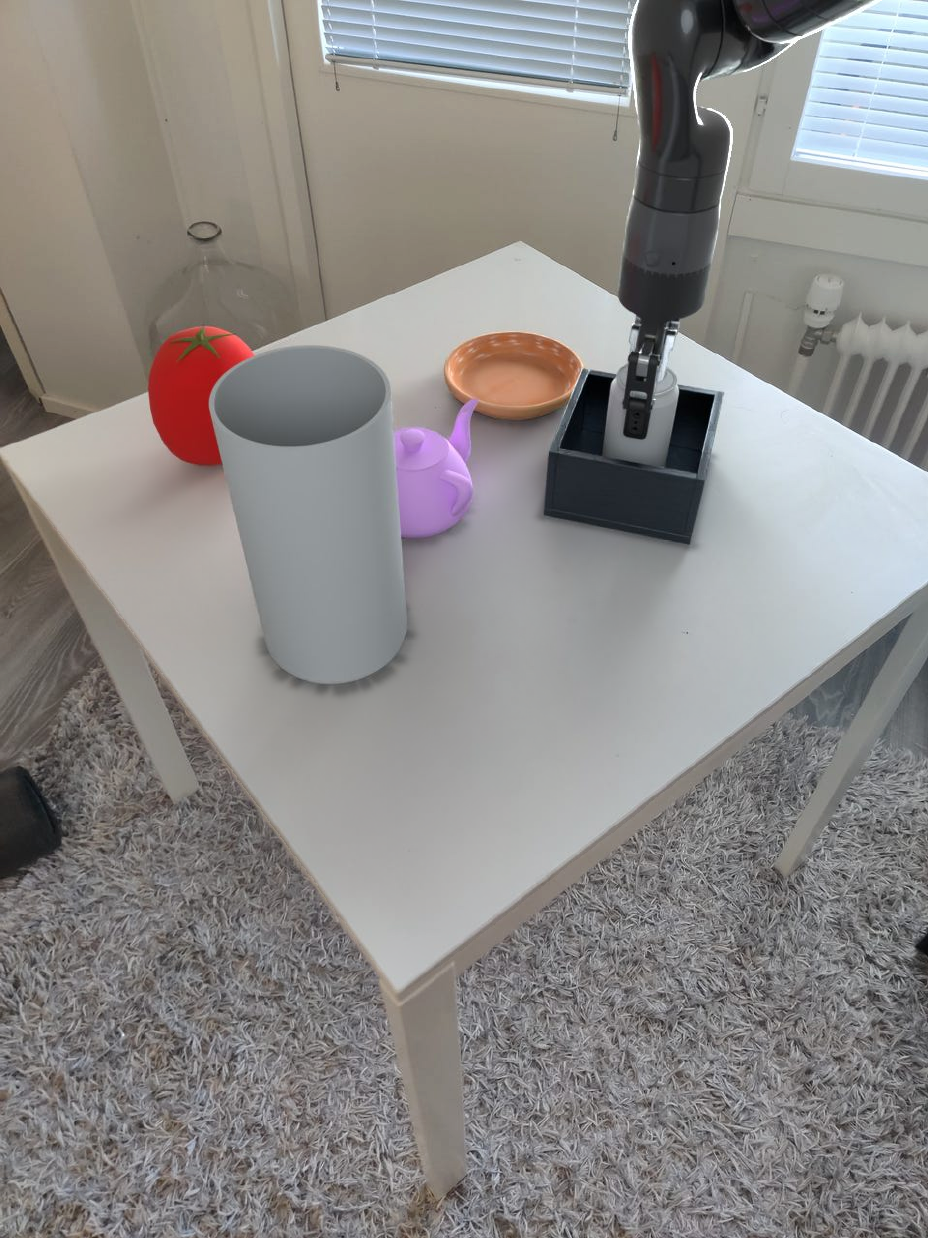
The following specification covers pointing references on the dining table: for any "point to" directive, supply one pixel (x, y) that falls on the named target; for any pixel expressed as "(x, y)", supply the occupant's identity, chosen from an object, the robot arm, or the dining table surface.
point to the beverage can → (659, 425)
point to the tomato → (191, 389)
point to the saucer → (513, 374)
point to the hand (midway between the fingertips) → (641, 414)
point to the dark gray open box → (630, 466)
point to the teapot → (433, 476)
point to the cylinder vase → (316, 506)
